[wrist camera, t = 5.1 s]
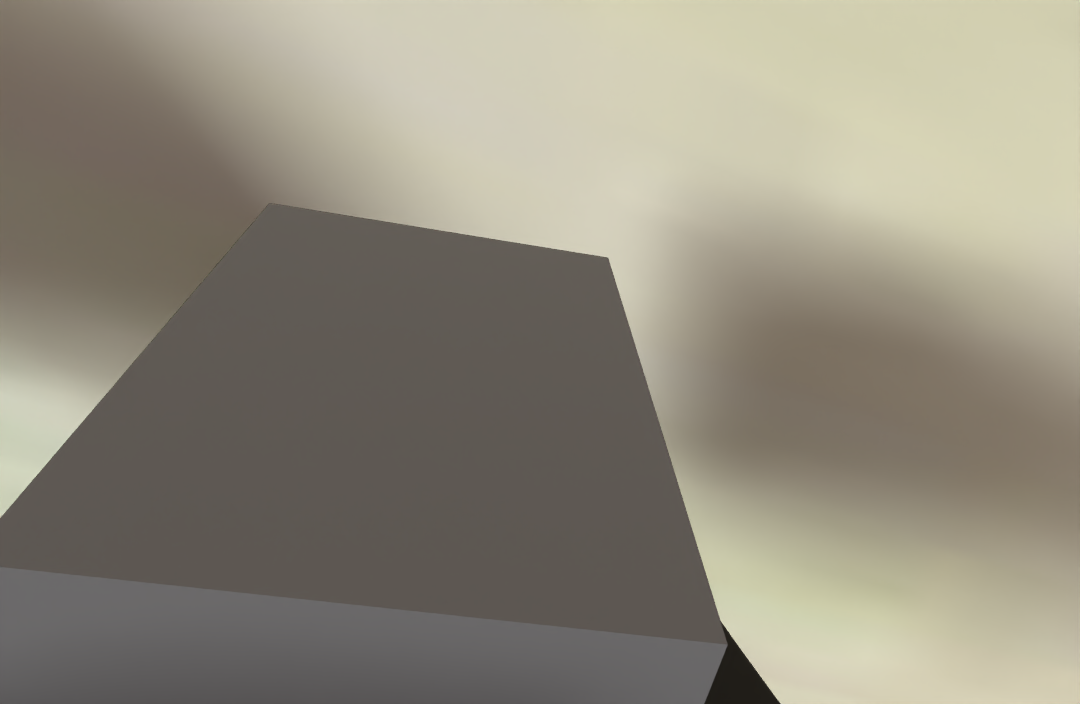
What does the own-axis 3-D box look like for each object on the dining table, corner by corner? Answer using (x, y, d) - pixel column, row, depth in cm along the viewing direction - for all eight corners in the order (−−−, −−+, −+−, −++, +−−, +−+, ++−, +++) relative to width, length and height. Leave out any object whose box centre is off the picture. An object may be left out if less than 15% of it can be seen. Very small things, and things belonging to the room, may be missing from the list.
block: (522, 619, 13) (535, 1128, 7) (256, 591, 12) (60, 1114, 7) (607, 257, 10) (726, 644, 5) (269, 203, 9) (-40, 564, 4)
